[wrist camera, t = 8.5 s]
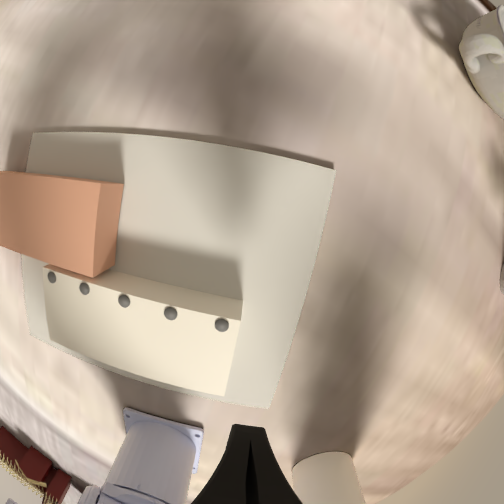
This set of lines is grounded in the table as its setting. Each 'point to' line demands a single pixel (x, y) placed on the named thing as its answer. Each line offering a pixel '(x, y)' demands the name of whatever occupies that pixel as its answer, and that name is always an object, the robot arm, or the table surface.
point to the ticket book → (144, 326)
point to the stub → (61, 219)
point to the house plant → (502, 280)
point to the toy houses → (33, 468)
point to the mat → (202, 236)
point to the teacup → (486, 57)
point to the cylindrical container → (327, 480)
